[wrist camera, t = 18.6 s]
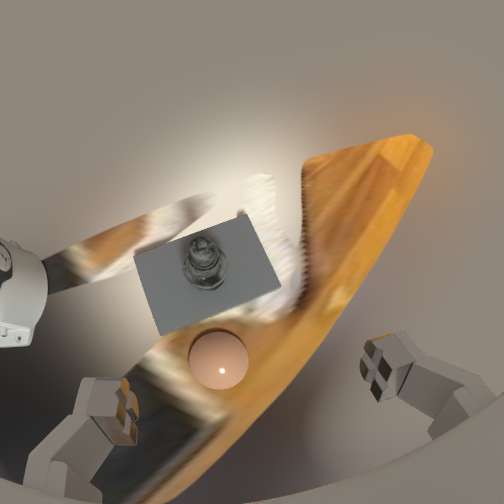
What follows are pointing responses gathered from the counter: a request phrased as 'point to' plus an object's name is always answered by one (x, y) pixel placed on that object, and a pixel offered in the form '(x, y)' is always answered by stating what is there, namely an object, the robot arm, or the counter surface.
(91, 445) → the robot arm
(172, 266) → the slate board
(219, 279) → the black rounded upright piece
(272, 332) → the counter surface
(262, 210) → the counter surface
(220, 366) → the peach domed round part
